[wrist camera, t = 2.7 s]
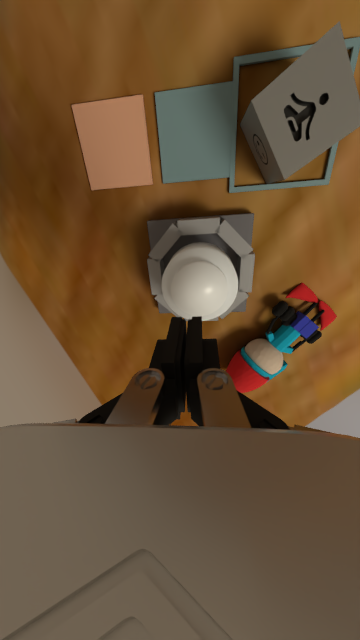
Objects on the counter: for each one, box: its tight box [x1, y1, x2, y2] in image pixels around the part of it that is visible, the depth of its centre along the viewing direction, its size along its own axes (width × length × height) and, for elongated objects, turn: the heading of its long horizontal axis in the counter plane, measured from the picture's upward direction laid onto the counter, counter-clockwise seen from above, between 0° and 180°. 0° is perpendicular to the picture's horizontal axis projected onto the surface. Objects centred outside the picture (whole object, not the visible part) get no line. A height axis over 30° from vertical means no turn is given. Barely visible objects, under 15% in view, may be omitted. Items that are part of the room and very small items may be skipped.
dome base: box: [147, 213, 255, 321], centre depth 22 cm, size 10×10×3 cm
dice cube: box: [240, 21, 360, 184], centre depth 15 cm, size 5×5×5 cm
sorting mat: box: [72, 37, 360, 193], centre depth 18 cm, size 21×8×1 cm, turn 94°
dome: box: [162, 242, 238, 321], centre depth 19 cm, size 6×6×4 cm
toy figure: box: [226, 283, 337, 393], centre depth 26 cm, size 8×5×15 cm
